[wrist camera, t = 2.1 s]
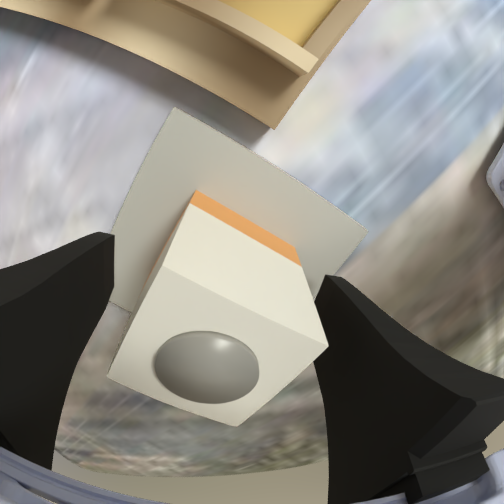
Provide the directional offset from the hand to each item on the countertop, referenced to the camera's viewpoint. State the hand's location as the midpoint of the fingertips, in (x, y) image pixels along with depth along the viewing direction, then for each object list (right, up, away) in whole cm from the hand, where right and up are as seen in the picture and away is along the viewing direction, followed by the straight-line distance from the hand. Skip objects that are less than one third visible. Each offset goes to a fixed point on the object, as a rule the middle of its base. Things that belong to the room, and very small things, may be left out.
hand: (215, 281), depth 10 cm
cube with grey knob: (0, +1, +1) cm, 1 cm away
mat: (0, +1, +1) cm, 2 cm away
